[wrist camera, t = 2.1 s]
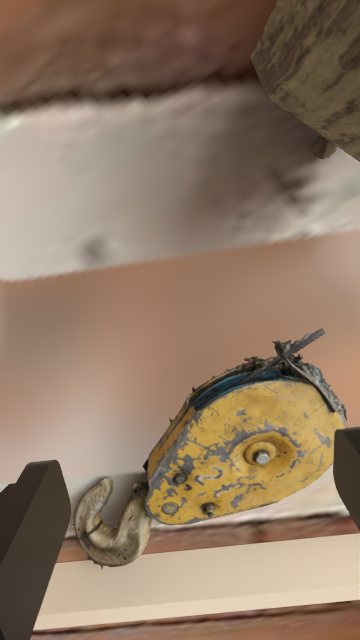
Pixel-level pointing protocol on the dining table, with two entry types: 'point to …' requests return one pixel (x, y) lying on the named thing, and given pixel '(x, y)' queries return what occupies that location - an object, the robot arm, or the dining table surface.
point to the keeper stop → (204, 582)
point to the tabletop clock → (315, 68)
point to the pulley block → (224, 453)
